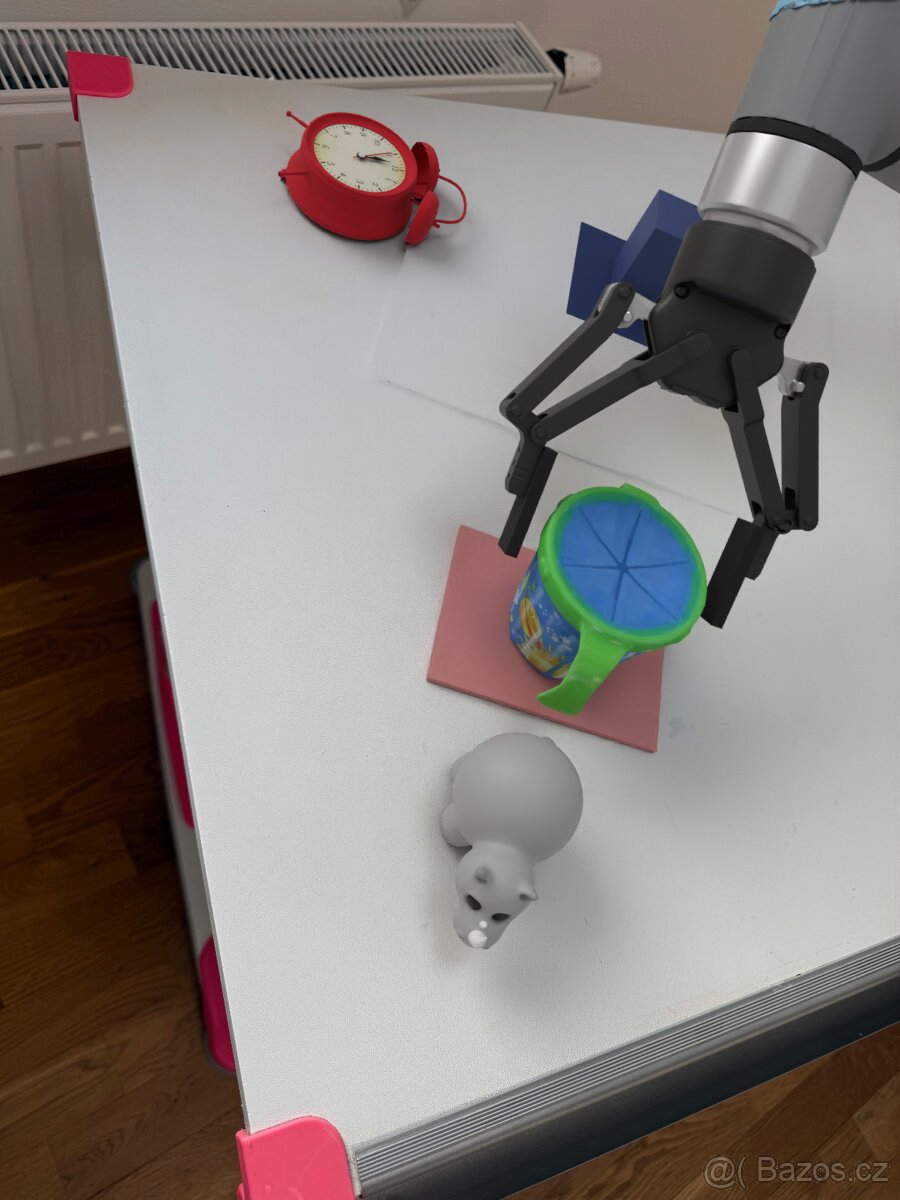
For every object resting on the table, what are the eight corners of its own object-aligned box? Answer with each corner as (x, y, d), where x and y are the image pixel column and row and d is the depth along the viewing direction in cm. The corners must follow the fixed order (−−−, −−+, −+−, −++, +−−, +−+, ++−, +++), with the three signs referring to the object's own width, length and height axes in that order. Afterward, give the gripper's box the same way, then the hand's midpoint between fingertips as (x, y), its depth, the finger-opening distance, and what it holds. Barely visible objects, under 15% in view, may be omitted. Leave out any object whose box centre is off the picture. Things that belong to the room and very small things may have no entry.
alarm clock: (284, 90, 76) (473, 108, 77) (287, 159, 81) (464, 176, 83) (272, 179, 71) (475, 197, 72) (277, 247, 76) (465, 263, 78)
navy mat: (696, 276, 89) (699, 272, 88) (691, 369, 83) (694, 365, 82) (578, 225, 87) (581, 220, 86) (563, 317, 80) (566, 312, 80)
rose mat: (664, 600, 70) (667, 597, 69) (653, 753, 64) (657, 751, 63) (458, 527, 67) (461, 523, 66) (425, 680, 61) (428, 677, 60)
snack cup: (587, 770, 61) (671, 712, 52) (443, 686, 60) (504, 614, 52) (655, 588, 69) (736, 514, 61) (529, 513, 69) (594, 427, 60)
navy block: (663, 283, 86) (713, 212, 79) (660, 322, 83) (711, 252, 77) (613, 261, 85) (659, 188, 78) (608, 300, 82) (655, 227, 76)
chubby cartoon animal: (382, 934, 53) (431, 904, 46) (449, 743, 59) (501, 691, 52) (500, 984, 53) (566, 963, 46) (554, 790, 60) (619, 746, 53)
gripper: (905, 321, 60) (762, 630, 65) (538, 162, 55) (412, 508, 60) (982, 320, 53) (815, 668, 58) (568, 138, 48) (422, 533, 53)
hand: (609, 587), depth 59 cm, fingers open, 13 cm apart
